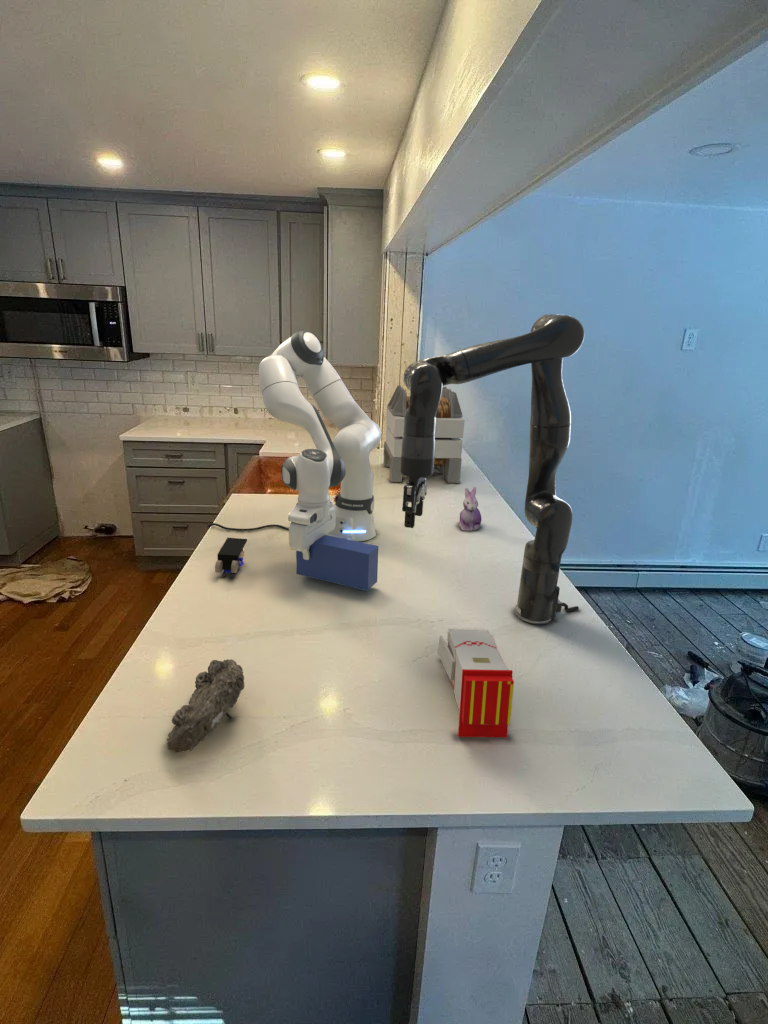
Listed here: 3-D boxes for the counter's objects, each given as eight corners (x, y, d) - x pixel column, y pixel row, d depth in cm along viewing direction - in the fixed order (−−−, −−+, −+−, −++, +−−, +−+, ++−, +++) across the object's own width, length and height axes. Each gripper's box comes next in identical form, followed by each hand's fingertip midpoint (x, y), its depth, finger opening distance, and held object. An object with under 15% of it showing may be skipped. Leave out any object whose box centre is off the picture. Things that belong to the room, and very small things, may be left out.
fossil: (192, 660, 117) (244, 628, 112) (224, 691, 120) (276, 661, 115) (142, 746, 98) (202, 712, 93) (182, 779, 101) (242, 748, 96)
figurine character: (238, 584, 162) (249, 557, 175) (236, 562, 158) (247, 536, 172) (215, 584, 161) (227, 556, 175) (212, 561, 158) (225, 535, 171)
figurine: (467, 533, 203) (471, 493, 198) (451, 523, 211) (454, 485, 206) (488, 529, 207) (492, 490, 202) (471, 520, 215) (475, 482, 210)
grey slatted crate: (382, 463, 289) (386, 382, 275) (445, 464, 293) (451, 384, 279) (390, 482, 257) (394, 392, 243) (460, 483, 261) (468, 394, 247)
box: (296, 574, 163) (295, 538, 159) (307, 565, 168) (307, 531, 165) (367, 591, 155) (368, 554, 151) (377, 581, 160) (378, 545, 156)
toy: (488, 613, 130) (523, 677, 101) (484, 667, 133) (517, 744, 104) (435, 612, 130) (455, 676, 101) (432, 666, 133) (451, 743, 103)
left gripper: (322, 496, 168) (322, 539, 172) (284, 517, 150) (285, 564, 155) (341, 499, 165) (340, 543, 170) (305, 521, 148) (305, 569, 152)
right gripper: (427, 463, 120) (422, 534, 125) (440, 448, 133) (435, 513, 138) (393, 459, 122) (390, 529, 127) (409, 445, 135) (405, 509, 140)
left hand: (313, 553), depth 162 cm, fingers closed on box, 6 cm apart
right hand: (413, 521), depth 133 cm, fingers open, 8 cm apart
